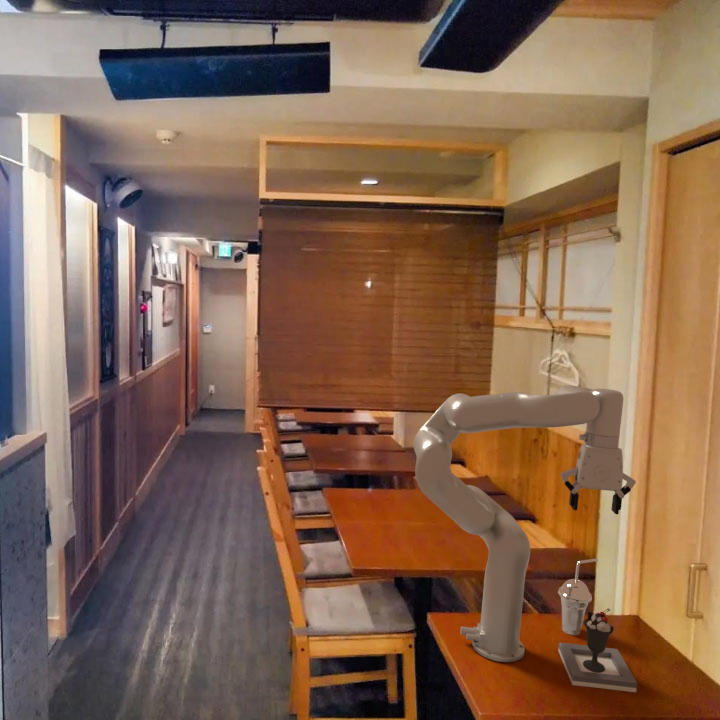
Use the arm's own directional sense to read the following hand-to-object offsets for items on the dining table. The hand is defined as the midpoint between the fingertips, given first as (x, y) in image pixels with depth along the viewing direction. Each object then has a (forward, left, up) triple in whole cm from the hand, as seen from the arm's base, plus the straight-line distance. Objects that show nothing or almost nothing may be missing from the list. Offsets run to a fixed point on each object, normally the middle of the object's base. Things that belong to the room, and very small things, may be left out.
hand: (594, 510), depth 153 cm
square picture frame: (+2, -7, -36) cm, 37 cm away
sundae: (+2, -7, -36) cm, 36 cm away
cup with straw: (+1, +11, -36) cm, 38 cm away
